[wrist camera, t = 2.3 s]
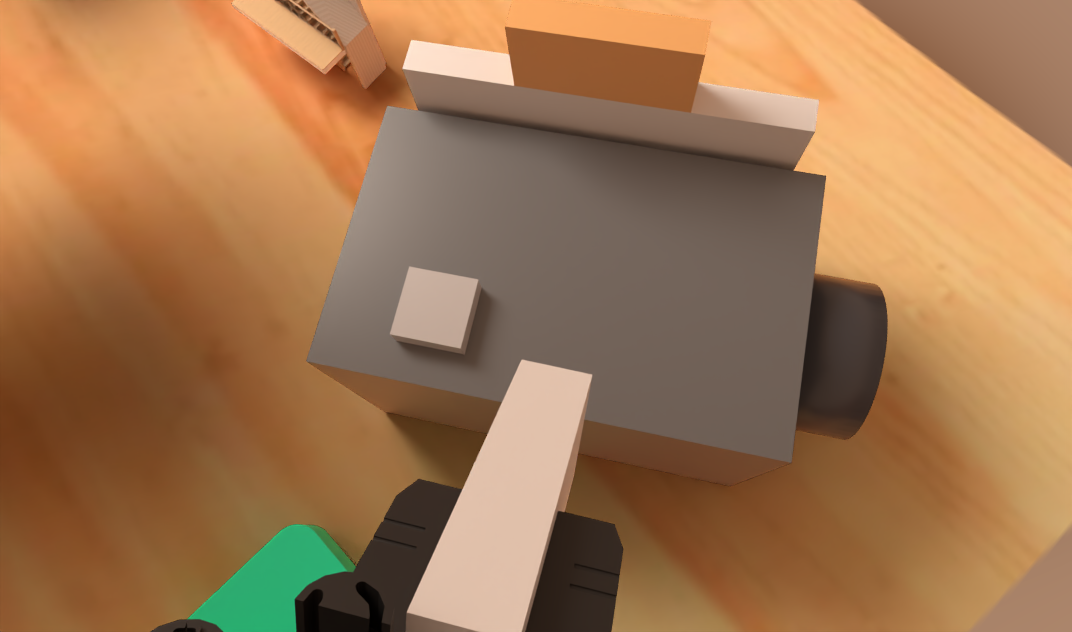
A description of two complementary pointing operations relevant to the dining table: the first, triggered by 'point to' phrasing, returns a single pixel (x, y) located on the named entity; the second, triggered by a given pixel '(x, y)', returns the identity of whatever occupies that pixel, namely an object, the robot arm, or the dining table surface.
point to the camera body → (599, 294)
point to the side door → (610, 85)
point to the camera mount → (274, 581)
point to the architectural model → (321, 32)
